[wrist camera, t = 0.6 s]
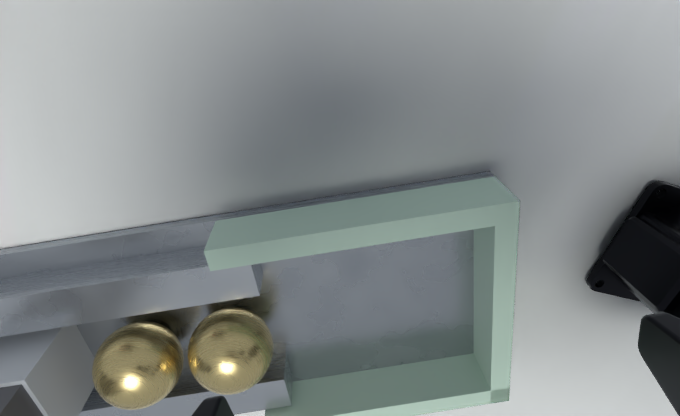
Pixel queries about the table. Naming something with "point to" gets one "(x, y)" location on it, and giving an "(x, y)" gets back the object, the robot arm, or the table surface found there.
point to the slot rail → (251, 300)
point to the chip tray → (385, 227)
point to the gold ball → (230, 350)
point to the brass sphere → (137, 365)
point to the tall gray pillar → (45, 373)
